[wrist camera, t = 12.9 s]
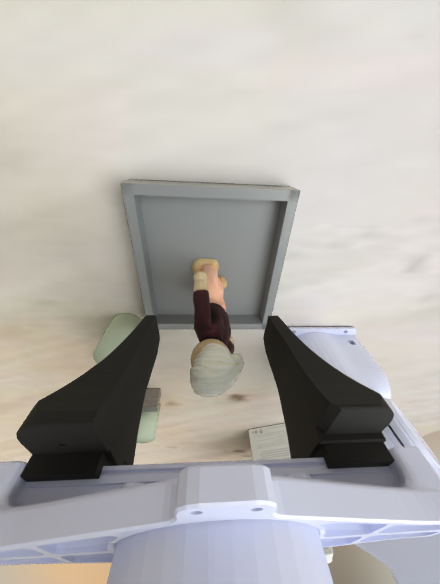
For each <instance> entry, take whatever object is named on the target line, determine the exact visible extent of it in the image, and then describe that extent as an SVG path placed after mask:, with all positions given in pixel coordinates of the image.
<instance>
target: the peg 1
mask: <svg viewBox="0 0 440 584" xmlns="http://www.w3.org/2000/svg"><path fill="white" fill-rule="evenodd" d="M159 410H160V402H159V407H158V412H142V414H141V419H140V425H139V430H138V436H137V442H136V443H148V442H151V441H153V440H154V438H155V432H156V427H157V421H158V416H159Z"/></svg>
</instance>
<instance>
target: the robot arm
mask: <svg viewBox="0 0 440 584" xmlns="http://www.w3.org/2000/svg"><path fill="white" fill-rule="evenodd" d="M356 331H357V330H356V329H355V328H354V327H289V328H288V327H287V326H286V324H285V323H284V322H283V321H282V320H281V319H280V318H279V317H278V316H268V319H267V324H266V329H265V333H264V338H263V339H264V345H265V350H266V354H267V357H268V360H269V363H270V366H271V369H272V372H273V375H274V378H275V381H276V385H277V388H278V392H279V396H280V401H281V406H282V410H283V415H284V420H285V426H286V431H287V437H288V443H289V449H290V456H291V459H272V460H247V461H222V462H197V463H172V464H147V465H133V462H134V456H135V449H136V442H137V436H138V430H139V425H140V419H141V414H142V408H143V403H144V398H145V393H146V389H147V386H148V382H149V379H150V376H151V372H152V369H153V366H154V363H155V359H156V356H157V352H158V347H159V341H160V336H159V330H158V323H157V317H156V315H146V316H145V317H144V318H143V319H142V321H141V322H140V323H139V324H138V325H137V326H136V328H135V329H134V330H133V331H132V332H131V333H130V334H129V335H128V336H127V337H126V339H125V340H124V341H123V342H122V343H121V344H120V345H119V346H118V347H116V348H115V349H114V350H113V351H112V352H111V353H110V354H109V355H108V356H107V357H105V358H104V359H103V360H102V361H101V362H99V363H98V364H97V365H95V366H94V367H93V368H91V369H90V370H89V371H87V372H86V373H85V374H83V375H82V376H80V377H79V378H77V379H76V380H74V381H72V382H71V383H69V384H68V385H66V386H64V387H63V388H61V389H59V390H57V391H56V392H54V393H52V394H50V395H49V396H47V397H45V398H43V399H41V400H39V401H38V402H37V404H36V405H35V406H34V408H33V409H32V410H31V412H30V413H29V415H28V416H27V418H26V419H25V421H24V422H23V424H22V425H21V427H20V428H19V430H18V431H17V439H18V440H19V442H20V443H21V444H22V445H23V446H24V447H25V448H26V449H27V450H28V451H29V452H31V453H32V454H33V455H32V456H31V458H30V460H29V462H28V463H26V462H21V461H10V462H0V565H21V564H61V563H62V564H63V563H64V564H65V563H112V564H111V569H110V573H109V577H108V581H107V584H333V581H332V578H331V574H330V571H329V567H328V563H327V560H326V557H325V553H324V550H323V548H325V547H333V546H341V545H350V544H355V545H357V546H358V547H360V548H361V549H363V550H364V551H366V552H367V553H369V554H371V555H372V556H373V557H375V558H376V559H378V560H379V561H381V562H382V563H383V564H385V565H386V566H387V567H388V568H389V569H390V571H391V573H392V575H393V577H394V579H395V580H396V582H397V584H440V462H439V461H438V459H437V458H436V456H435V455H434V454H433V453H432V451H431V449H430V448H429V447H428V445H427V444H426V443H425V441H424V440H423V439H422V437H421V436H420V435H419V433H418V432H417V431H416V429H415V428H414V427H413V426H412V424H411V423H410V422H409V420H408V419H407V418H406V417H405V415H404V414H403V413H402V412H401V411H400V409H399V408H398V407H397V406H396V405H395V404H394V403H393V402H392V401H391V389H390V385H389V382H388V379H387V377H386V375H385V373H384V372H383V370H382V369H381V367H380V366H379V365H378V364H377V362H376V361H375V360H374V359H373V357H372V356H371V355H370V354H369V352H368V351H367V350H366V349H365V348H364V346H363V345H362V344H361V343H360V341H359V340H358V339H357V338H356V336H355V333H356Z"/></svg>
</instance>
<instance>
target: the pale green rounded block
mask: <svg viewBox="0 0 440 584" xmlns="http://www.w3.org/2000/svg"><path fill="white" fill-rule="evenodd" d="M141 321H142V320H141V319H140V318H139V317H137V316H136V315H133V314H129V313H121V314H118V315H116V316H115V317H114V318H113V319H112V321H111V322H110V324H109V326H108V328H107V329H106V331H105V333H104V335H103V337H102V338H101V340H100V342H99V344H98V345H97V347H96V349H95V351H94V353H93V357H94V360H95V361H96V362H97V363H99V362H101V361H102V360H103V359H104V358H105V357H107V356H108V355H109V354H110V353H111V352H112V351H113V350H114V349H115V348H116V347H118V346H119V345H120V344H121V343H122V342H123V341H124V340H125V339H126V337H127V336H128V335H129V334H130V333H131V332H132V331H133V330H134V329H135V328H136V326H137V325H138V324H139V323H140V322H141Z"/></svg>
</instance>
